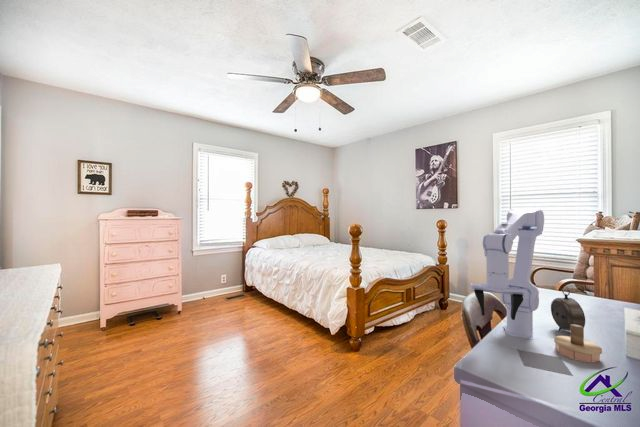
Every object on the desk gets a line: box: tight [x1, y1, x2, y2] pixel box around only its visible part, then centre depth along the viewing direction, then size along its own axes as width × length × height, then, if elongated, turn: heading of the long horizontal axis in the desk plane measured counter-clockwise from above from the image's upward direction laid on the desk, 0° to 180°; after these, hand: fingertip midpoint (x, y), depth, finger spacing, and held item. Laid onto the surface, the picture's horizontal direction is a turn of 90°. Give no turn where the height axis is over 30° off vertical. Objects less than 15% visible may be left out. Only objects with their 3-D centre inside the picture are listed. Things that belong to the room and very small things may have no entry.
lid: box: [553, 324, 603, 355], centre depth 78 cm, size 10×10×6 cm
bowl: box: [554, 342, 601, 363], centre depth 79 cm, size 9×9×3 cm
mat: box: [516, 348, 574, 377], centre depth 74 cm, size 10×10×1 cm
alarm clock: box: [550, 285, 586, 332], centre depth 95 cm, size 11×5×16 cm, turn 168°
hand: (497, 316), depth 83 cm, fingers open, 7 cm apart
